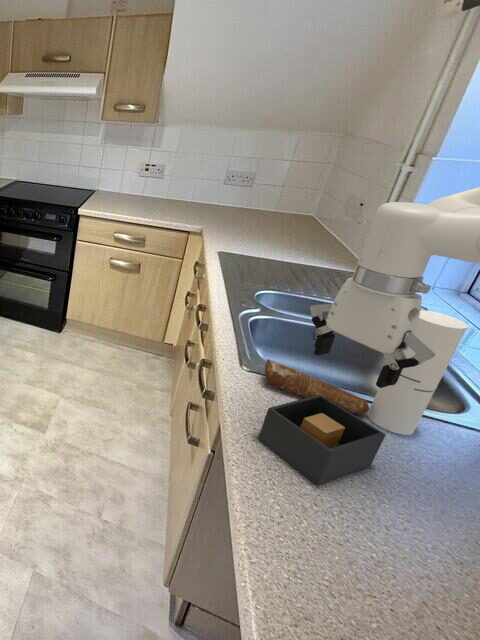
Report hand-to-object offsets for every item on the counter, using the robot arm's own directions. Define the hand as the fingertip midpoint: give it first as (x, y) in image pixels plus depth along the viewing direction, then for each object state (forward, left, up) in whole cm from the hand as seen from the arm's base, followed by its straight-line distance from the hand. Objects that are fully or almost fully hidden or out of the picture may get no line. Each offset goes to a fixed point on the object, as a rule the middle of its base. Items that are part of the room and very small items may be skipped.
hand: (350, 368), depth 72 cm
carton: (0, 0, -19) cm, 19 cm away
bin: (0, 0, -20) cm, 20 cm away
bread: (-17, -12, -20) cm, 29 cm away
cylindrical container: (-25, -1, -20) cm, 32 cm away
